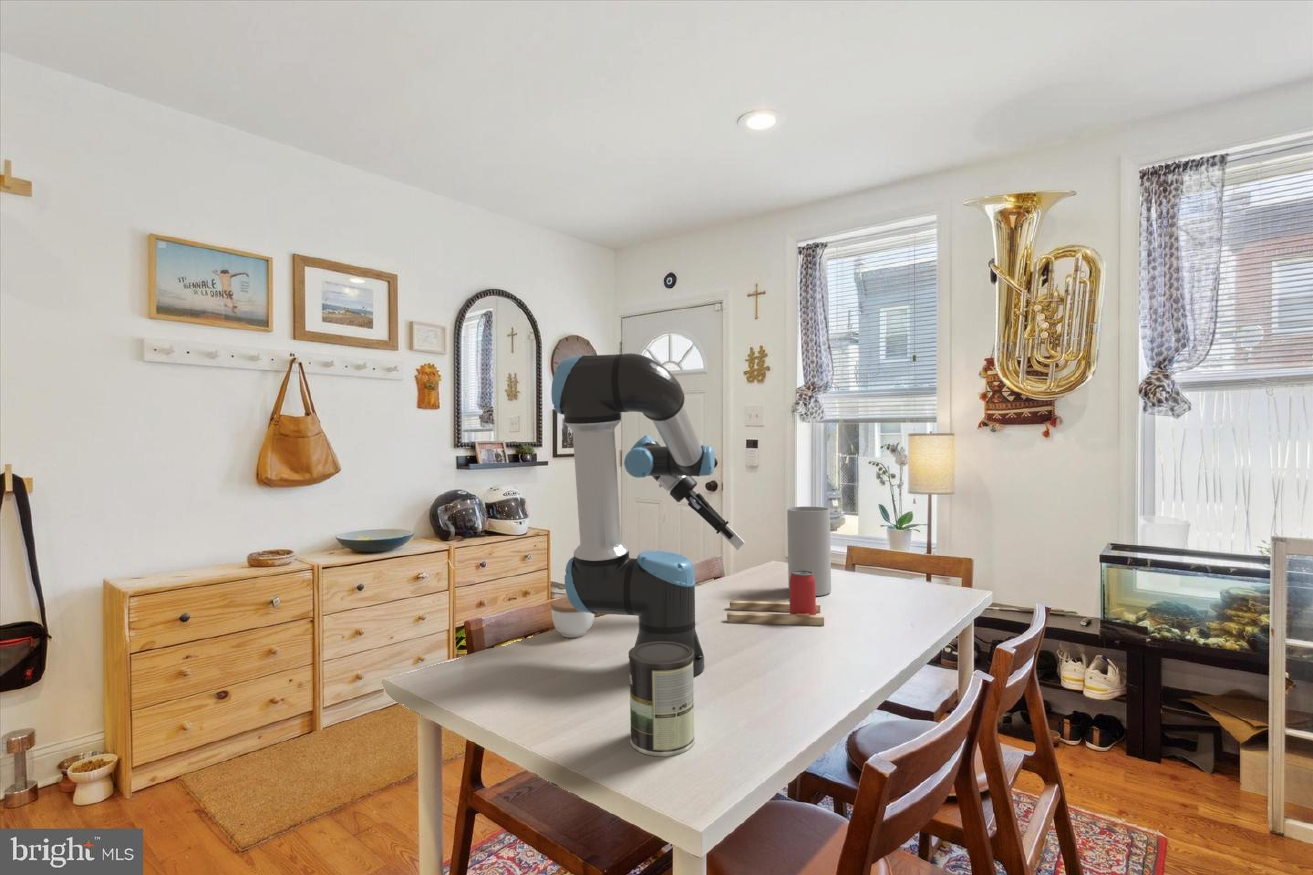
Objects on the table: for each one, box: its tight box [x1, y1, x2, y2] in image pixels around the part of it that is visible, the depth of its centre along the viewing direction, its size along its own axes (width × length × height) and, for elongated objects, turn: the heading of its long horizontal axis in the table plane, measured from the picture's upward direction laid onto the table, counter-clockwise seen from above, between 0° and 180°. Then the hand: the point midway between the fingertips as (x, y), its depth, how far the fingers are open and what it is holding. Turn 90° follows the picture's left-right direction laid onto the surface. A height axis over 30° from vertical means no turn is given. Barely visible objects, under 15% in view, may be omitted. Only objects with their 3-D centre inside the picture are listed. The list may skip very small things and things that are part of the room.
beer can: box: [788, 570, 817, 615], centre depth 165 cm, size 7×7×12 cm
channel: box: [726, 600, 825, 627], centre depth 167 cm, size 24×14×2 cm, turn 80°
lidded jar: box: [550, 596, 596, 638], centre depth 155 cm, size 11×11×9 cm
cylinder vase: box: [786, 506, 832, 597], centre depth 192 cm, size 12×12×25 cm
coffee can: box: [628, 641, 696, 757], centre depth 100 cm, size 10×10×14 cm
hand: (741, 546), depth 169 cm, fingers closed
